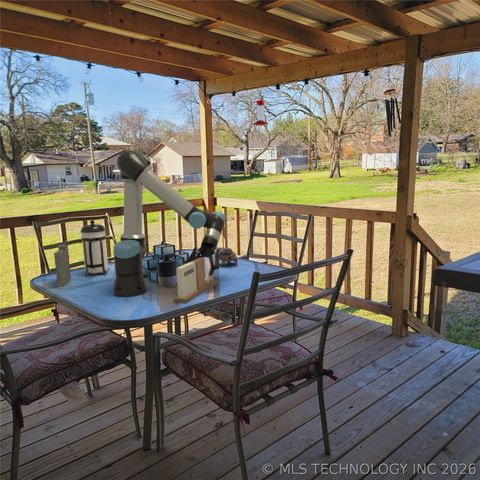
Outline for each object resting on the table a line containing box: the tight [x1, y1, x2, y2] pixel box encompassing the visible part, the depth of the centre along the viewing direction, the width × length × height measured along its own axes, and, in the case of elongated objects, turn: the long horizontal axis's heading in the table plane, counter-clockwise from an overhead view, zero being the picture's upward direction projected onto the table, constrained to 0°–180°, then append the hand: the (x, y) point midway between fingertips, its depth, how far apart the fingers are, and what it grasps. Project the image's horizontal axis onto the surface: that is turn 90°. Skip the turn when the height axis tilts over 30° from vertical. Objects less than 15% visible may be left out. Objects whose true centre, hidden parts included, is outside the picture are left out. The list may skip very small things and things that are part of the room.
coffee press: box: [80, 219, 110, 277], centre depth 214 cm, size 17×16×30 cm
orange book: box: [191, 257, 206, 289], centre depth 179 cm, size 8×3×13 cm, turn 157°
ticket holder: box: [173, 262, 219, 304], centre depth 177 cm, size 30×6×15 cm, turn 157°
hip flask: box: [53, 244, 72, 288], centre depth 198 cm, size 16×4×20 cm, turn 11°
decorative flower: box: [215, 247, 238, 268], centre depth 226 cm, size 15×12×15 cm
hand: (196, 280), depth 178 cm, fingers open, 10 cm apart
